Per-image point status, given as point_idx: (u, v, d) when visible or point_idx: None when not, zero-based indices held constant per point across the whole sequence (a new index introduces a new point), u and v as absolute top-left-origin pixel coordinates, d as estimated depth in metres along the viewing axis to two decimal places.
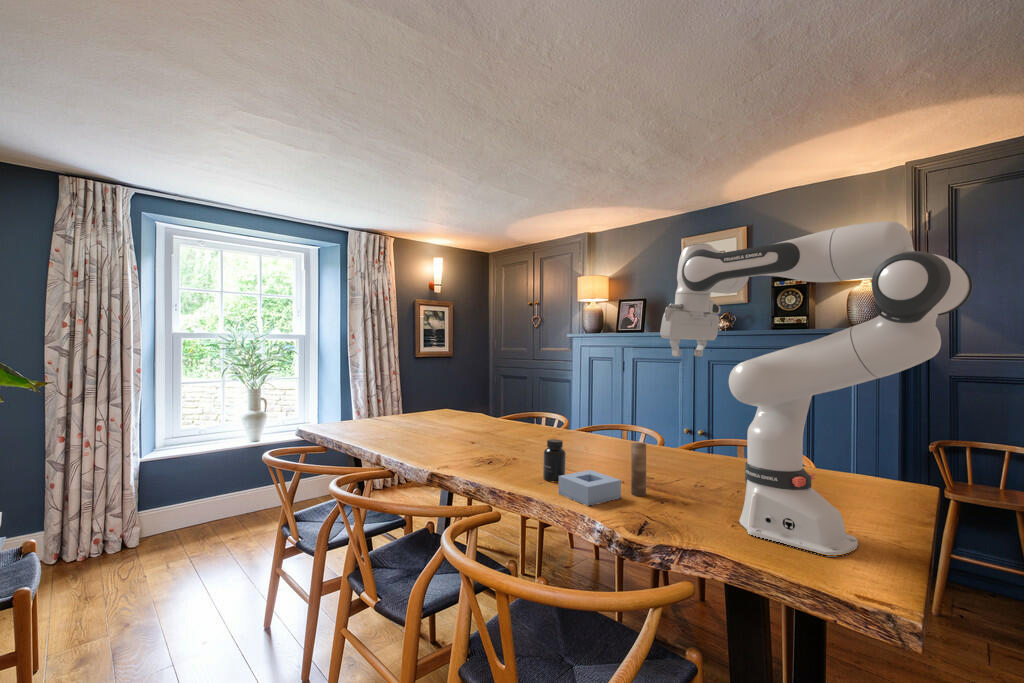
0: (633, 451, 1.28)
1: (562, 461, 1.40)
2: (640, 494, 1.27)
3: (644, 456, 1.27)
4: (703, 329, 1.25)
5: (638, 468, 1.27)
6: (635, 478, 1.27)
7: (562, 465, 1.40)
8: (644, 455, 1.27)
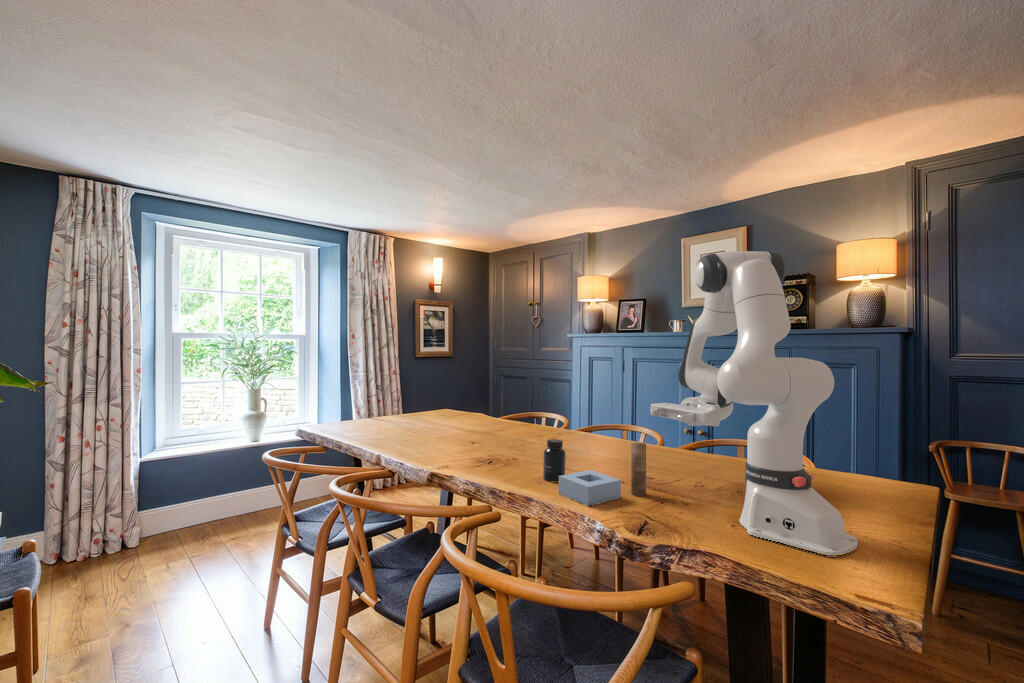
0: (633, 451, 1.28)
1: (562, 461, 1.40)
2: (640, 494, 1.27)
3: (644, 456, 1.27)
4: (692, 409, 1.37)
5: (638, 468, 1.27)
6: (635, 478, 1.27)
7: (562, 465, 1.40)
8: (644, 455, 1.27)
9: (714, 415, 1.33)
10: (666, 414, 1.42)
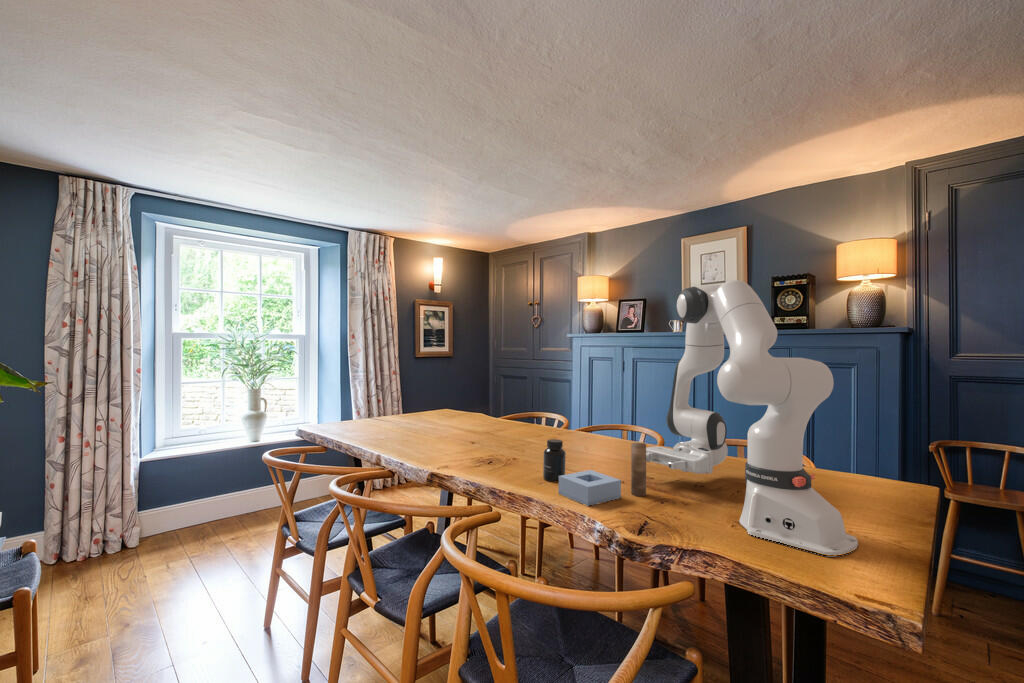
0: (633, 451, 1.28)
1: (562, 461, 1.40)
2: (640, 494, 1.27)
3: (644, 456, 1.27)
4: (684, 455, 1.34)
5: (638, 468, 1.27)
6: (635, 478, 1.27)
7: (562, 465, 1.40)
8: (644, 455, 1.27)
9: (706, 462, 1.30)
10: (658, 459, 1.39)
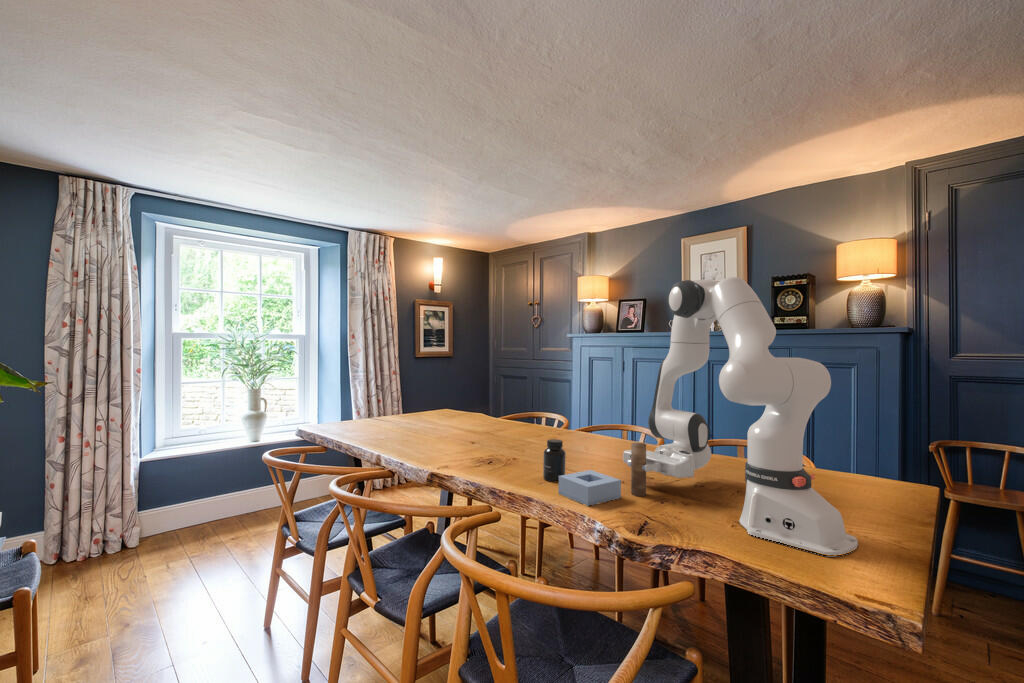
0: (633, 451, 1.28)
1: (562, 461, 1.40)
2: (640, 494, 1.27)
3: (644, 456, 1.27)
4: (664, 458, 1.30)
5: (638, 468, 1.27)
6: (635, 478, 1.27)
7: (562, 465, 1.40)
8: (644, 455, 1.27)
9: (687, 466, 1.25)
10: None
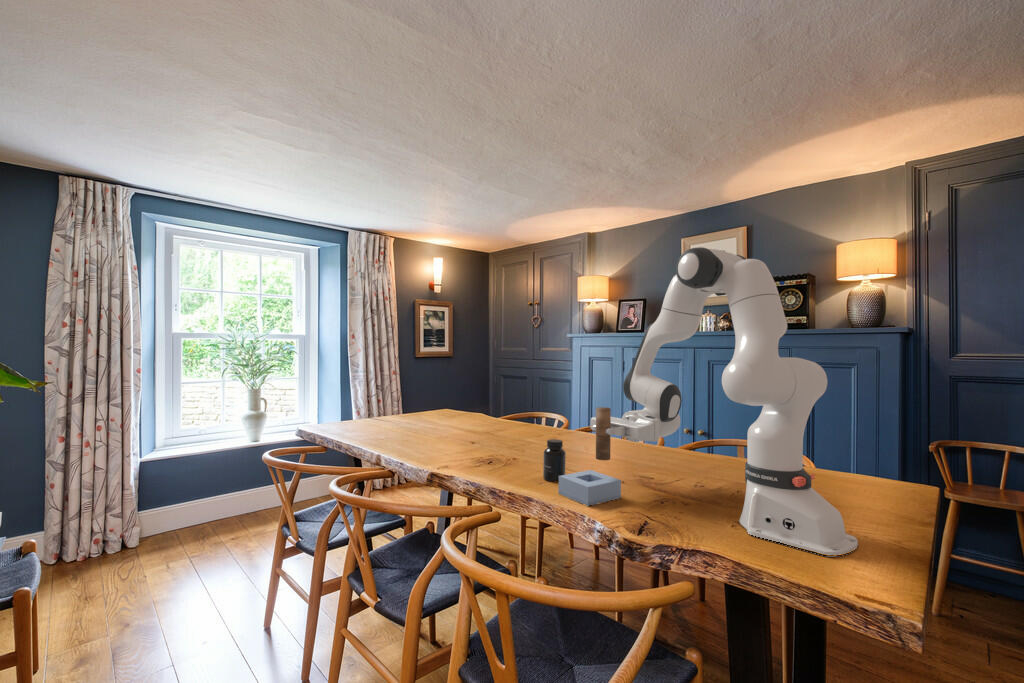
0: (597, 415, 1.27)
1: (562, 461, 1.40)
2: (604, 458, 1.26)
3: (608, 420, 1.27)
4: (629, 423, 1.29)
5: (602, 432, 1.26)
6: (599, 442, 1.27)
7: (562, 465, 1.40)
8: (609, 419, 1.27)
9: (650, 430, 1.24)
10: None
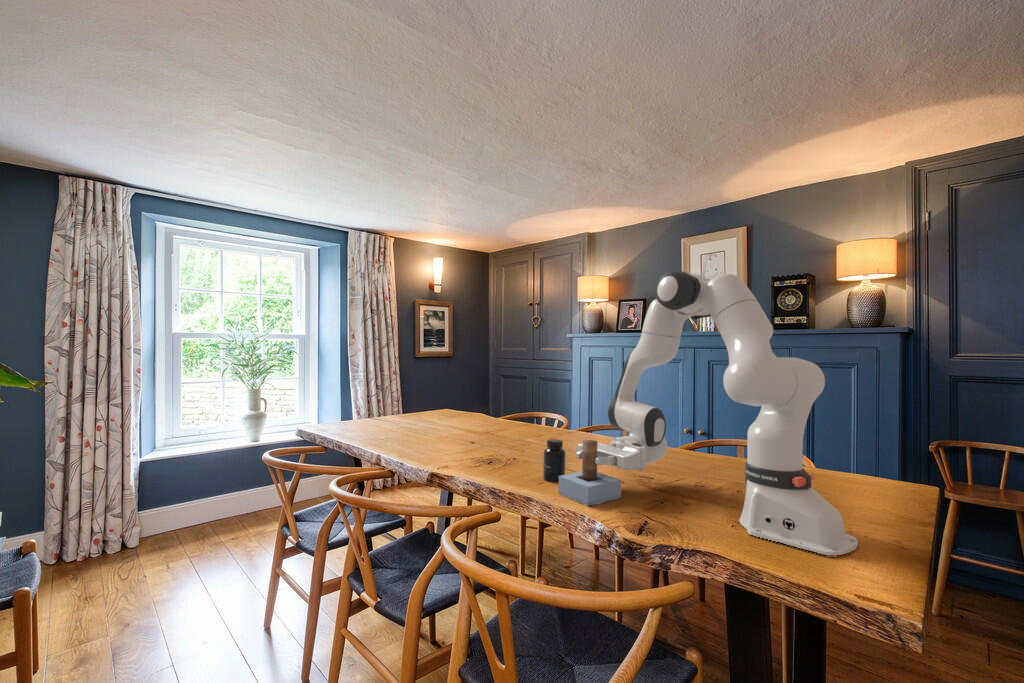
0: (584, 449, 1.26)
1: (562, 461, 1.40)
2: None
3: (595, 454, 1.25)
4: (616, 451, 1.28)
5: (588, 466, 1.25)
6: (585, 476, 1.25)
7: (562, 465, 1.40)
8: (595, 453, 1.25)
9: (637, 458, 1.23)
10: None
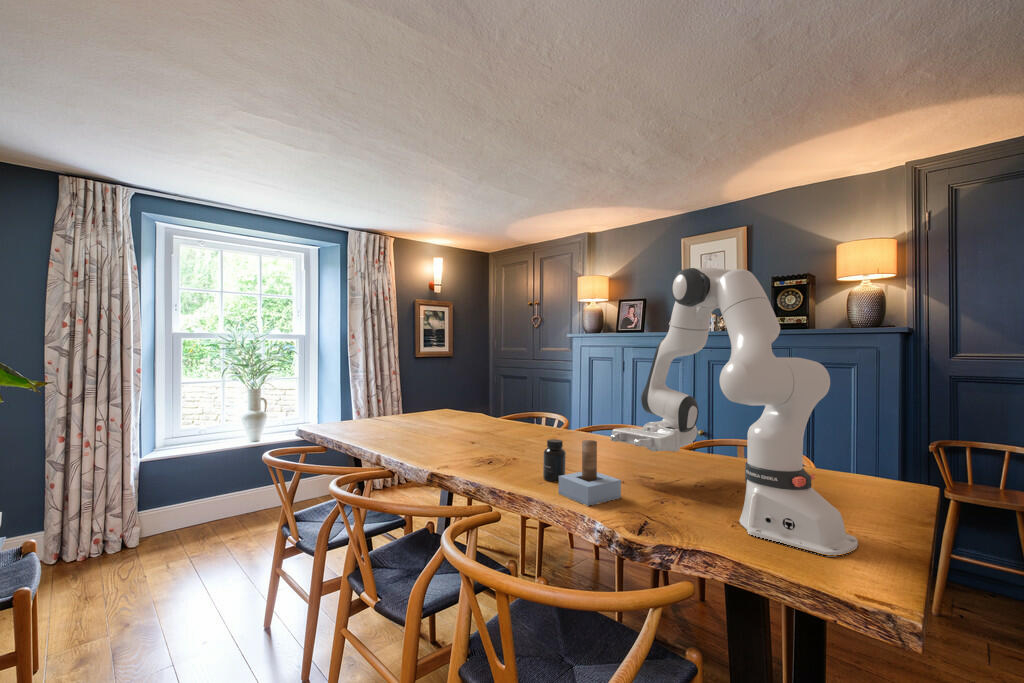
0: (583, 449, 1.26)
1: (562, 461, 1.40)
2: None
3: (594, 454, 1.25)
4: (651, 433, 1.35)
5: (588, 466, 1.25)
6: (585, 476, 1.25)
7: (562, 465, 1.40)
8: (595, 453, 1.25)
9: (672, 440, 1.31)
10: (627, 439, 1.40)
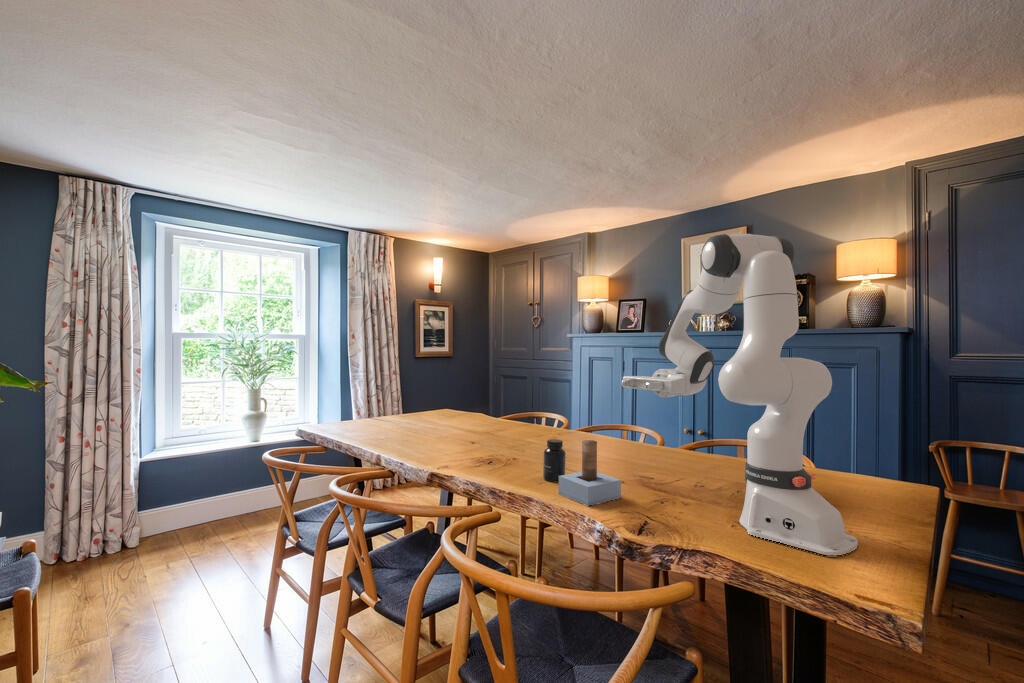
0: (583, 449, 1.26)
1: (562, 461, 1.40)
2: None
3: (594, 454, 1.25)
4: (661, 378, 1.38)
5: (588, 466, 1.25)
6: (585, 476, 1.25)
7: (562, 465, 1.40)
8: (595, 453, 1.25)
9: (682, 383, 1.34)
10: (637, 385, 1.43)
